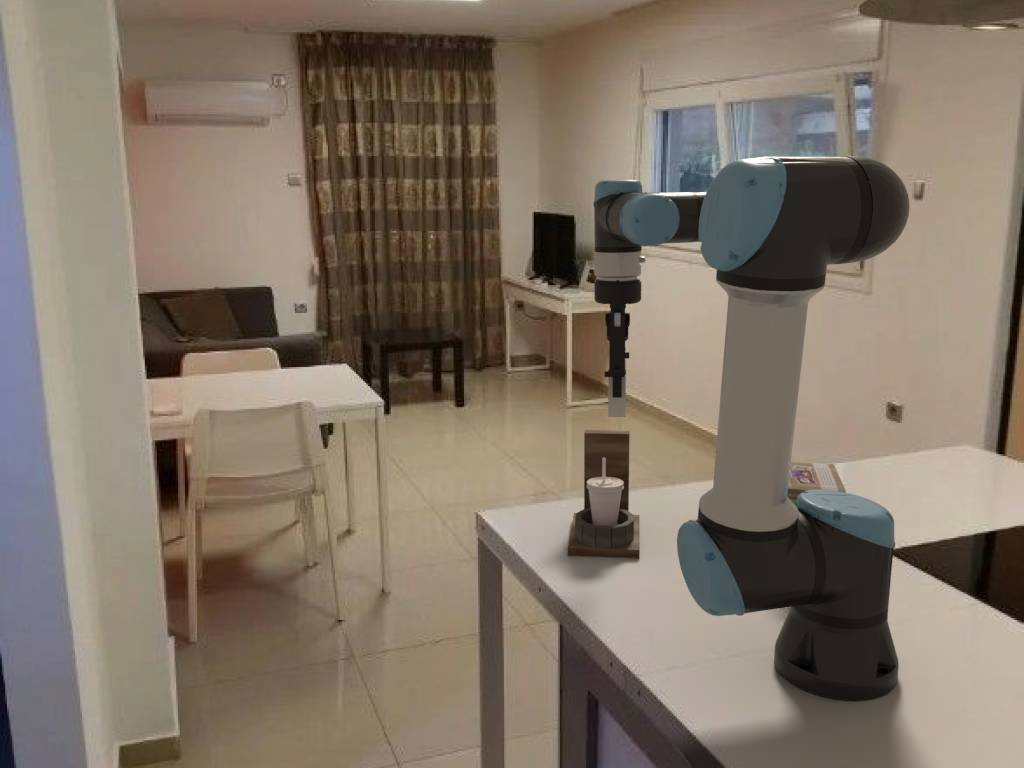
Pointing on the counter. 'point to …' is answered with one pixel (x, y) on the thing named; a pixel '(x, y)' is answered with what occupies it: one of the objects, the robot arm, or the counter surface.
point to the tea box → (812, 478)
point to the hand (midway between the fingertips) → (617, 406)
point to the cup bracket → (627, 532)
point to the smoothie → (605, 498)
